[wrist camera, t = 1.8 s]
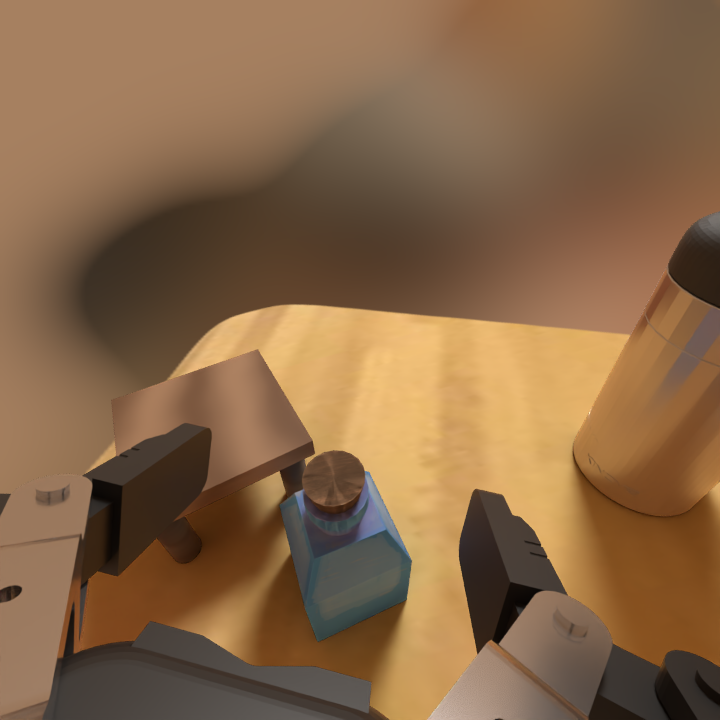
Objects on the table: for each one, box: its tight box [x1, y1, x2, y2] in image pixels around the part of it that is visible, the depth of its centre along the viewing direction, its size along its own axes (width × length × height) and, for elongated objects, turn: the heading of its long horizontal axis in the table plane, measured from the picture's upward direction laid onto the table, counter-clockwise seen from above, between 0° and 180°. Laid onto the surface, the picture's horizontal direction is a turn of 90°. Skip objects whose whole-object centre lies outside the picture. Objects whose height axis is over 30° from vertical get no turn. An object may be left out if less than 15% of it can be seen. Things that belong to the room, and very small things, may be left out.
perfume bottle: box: [279, 450, 412, 642], centre depth 23 cm, size 6×6×12 cm
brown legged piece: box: [111, 349, 315, 563], centre depth 30 cm, size 12×12×8 cm
